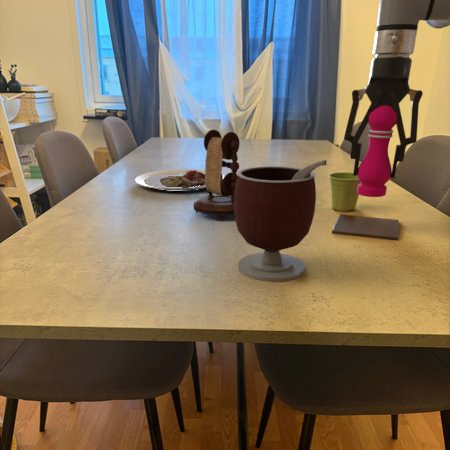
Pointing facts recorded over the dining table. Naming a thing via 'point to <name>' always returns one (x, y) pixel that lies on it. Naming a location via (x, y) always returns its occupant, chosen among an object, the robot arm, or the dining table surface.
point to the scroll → (219, 174)
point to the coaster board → (366, 227)
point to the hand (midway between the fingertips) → (373, 175)
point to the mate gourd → (274, 218)
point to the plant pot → (344, 190)
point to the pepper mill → (377, 153)
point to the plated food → (177, 179)
